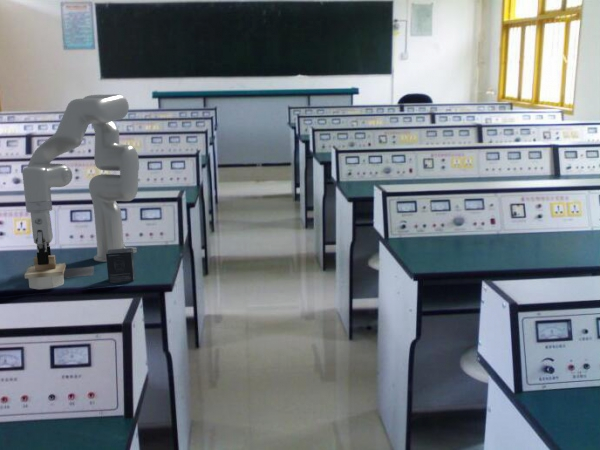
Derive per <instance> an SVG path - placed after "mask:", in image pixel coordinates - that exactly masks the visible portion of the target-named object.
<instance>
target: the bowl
mask: <svg viewBox="0 0 600 450" xmlns="http://www.w3.org/2000/svg"><path fill="white" fill-rule="evenodd" d="M27 280H28V285H29V289H35V290H49V289H54V288H57V287H60V286H63V285H64V283H65V278H64V275H60V276H49V277H38V278H27Z"/></svg>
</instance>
